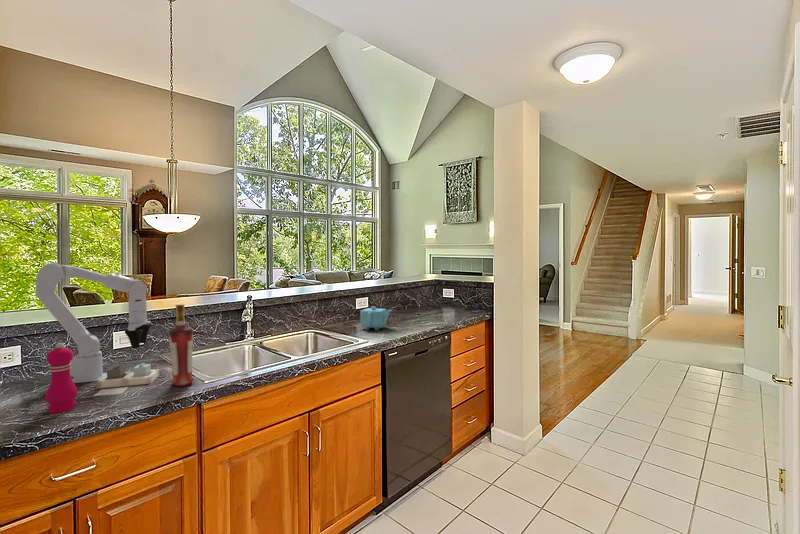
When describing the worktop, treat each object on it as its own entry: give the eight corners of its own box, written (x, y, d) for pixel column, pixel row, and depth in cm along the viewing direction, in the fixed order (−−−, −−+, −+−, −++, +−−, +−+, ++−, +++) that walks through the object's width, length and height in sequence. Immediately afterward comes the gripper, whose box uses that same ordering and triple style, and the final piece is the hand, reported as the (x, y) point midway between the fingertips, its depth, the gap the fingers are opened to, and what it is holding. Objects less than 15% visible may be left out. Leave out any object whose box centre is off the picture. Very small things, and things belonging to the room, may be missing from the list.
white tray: (96, 389, 132) (96, 371, 132) (109, 379, 142) (108, 363, 142) (150, 384, 137) (150, 367, 137) (159, 375, 147) (158, 359, 146)
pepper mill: (59, 405, 119) (55, 340, 118) (84, 404, 119) (81, 339, 119) (39, 415, 112) (35, 346, 111) (66, 414, 112) (62, 345, 111)
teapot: (358, 330, 223) (358, 308, 223) (368, 325, 238) (368, 304, 238) (388, 332, 218) (388, 309, 218) (397, 326, 233) (396, 305, 232)
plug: (134, 381, 138) (133, 366, 138) (138, 378, 142) (138, 363, 142) (146, 380, 139) (146, 365, 139) (151, 377, 143) (150, 362, 143)
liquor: (170, 383, 137) (167, 304, 136) (193, 379, 141) (190, 302, 140) (171, 389, 131) (168, 307, 130) (195, 385, 135) (193, 305, 134)
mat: (92, 397, 125) (92, 396, 125) (101, 390, 131) (101, 389, 131) (121, 394, 128) (121, 393, 128) (128, 387, 133) (128, 387, 133)
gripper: (143, 313, 146) (144, 349, 146) (155, 307, 160) (156, 340, 160) (121, 314, 144) (122, 350, 144) (135, 308, 158) (136, 341, 158)
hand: (139, 345), depth 152 cm, fingers open, 7 cm apart
